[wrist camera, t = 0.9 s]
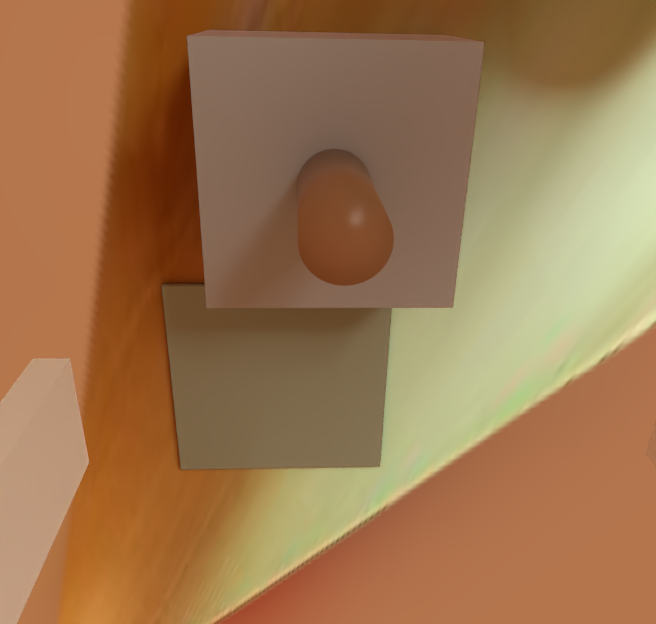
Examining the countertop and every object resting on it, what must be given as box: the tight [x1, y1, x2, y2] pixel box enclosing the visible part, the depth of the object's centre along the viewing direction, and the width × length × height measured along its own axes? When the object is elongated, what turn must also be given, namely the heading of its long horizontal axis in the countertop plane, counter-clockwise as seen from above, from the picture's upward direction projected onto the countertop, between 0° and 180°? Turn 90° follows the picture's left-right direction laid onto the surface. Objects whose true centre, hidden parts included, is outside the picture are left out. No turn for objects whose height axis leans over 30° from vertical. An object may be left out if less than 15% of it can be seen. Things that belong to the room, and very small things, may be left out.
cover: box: [187, 30, 485, 308], centre depth 30 cm, size 13×13×16 cm
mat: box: [161, 284, 391, 470], centre depth 44 cm, size 15×15×1 cm
